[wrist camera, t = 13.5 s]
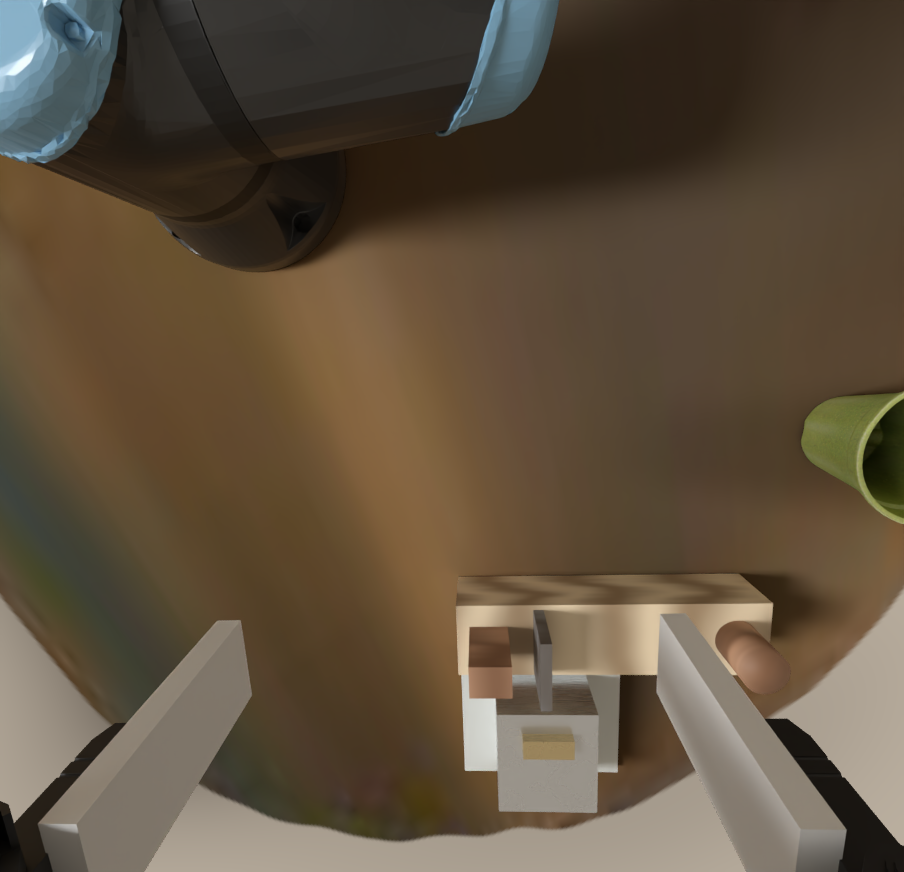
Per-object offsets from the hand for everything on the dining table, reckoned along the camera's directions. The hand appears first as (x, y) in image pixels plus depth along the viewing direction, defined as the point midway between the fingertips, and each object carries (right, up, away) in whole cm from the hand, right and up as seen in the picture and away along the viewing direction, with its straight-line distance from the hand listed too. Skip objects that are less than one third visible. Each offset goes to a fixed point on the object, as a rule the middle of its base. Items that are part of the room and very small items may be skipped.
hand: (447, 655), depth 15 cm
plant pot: (+31, +7, +24) cm, 40 cm away
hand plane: (+13, -8, +28) cm, 32 cm away
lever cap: (+8, -19, +29) cm, 36 cm away
